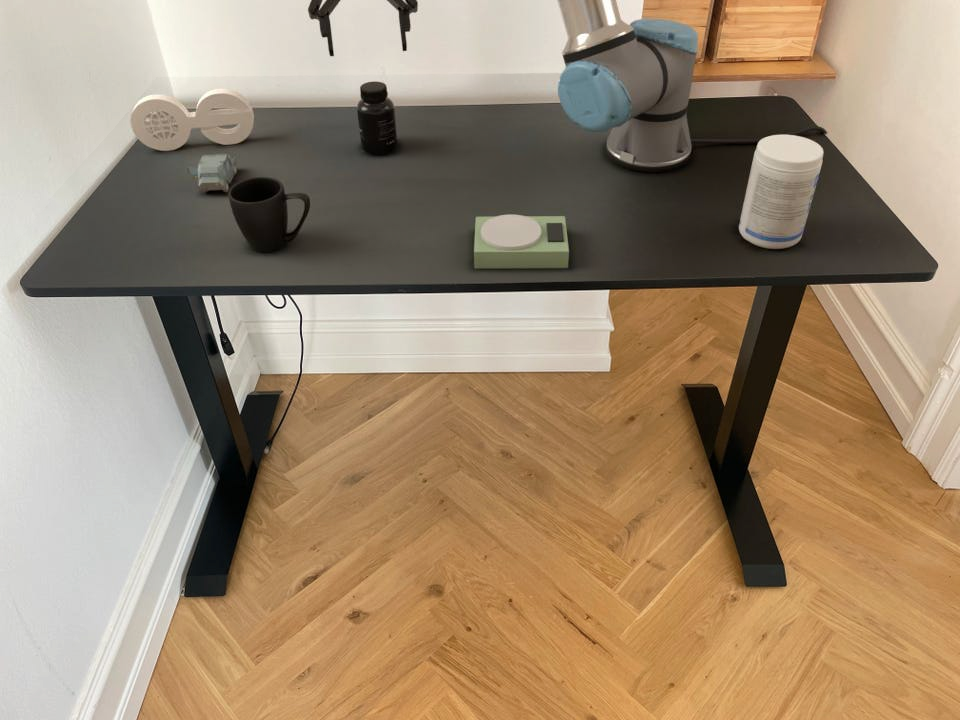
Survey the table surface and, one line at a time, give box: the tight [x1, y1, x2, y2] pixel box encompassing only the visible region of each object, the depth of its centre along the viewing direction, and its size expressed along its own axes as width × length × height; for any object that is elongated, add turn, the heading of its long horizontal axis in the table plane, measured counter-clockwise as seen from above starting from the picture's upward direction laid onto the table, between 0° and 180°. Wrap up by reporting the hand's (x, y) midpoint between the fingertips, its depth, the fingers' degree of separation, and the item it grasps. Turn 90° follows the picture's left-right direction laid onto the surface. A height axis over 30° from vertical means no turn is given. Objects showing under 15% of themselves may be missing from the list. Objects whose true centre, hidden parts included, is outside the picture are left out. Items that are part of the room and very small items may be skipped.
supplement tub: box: [738, 134, 824, 250], centre depth 118 cm, size 10×10×15 cm
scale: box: [473, 213, 570, 270], centre depth 120 cm, size 14×10×4 cm
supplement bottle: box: [356, 80, 398, 157], centre depth 144 cm, size 7×7×12 cm
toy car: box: [186, 153, 238, 194], centre depth 137 cm, size 6×10×5 cm, turn 1°
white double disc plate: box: [130, 88, 255, 152], centre depth 147 cm, size 22×2×10 cm, turn 100°
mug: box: [227, 176, 311, 254], centre depth 120 cm, size 8×12×10 cm
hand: (368, 50), depth 145 cm, fingers open, 13 cm apart
